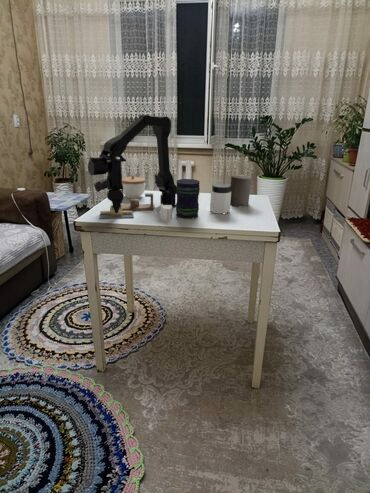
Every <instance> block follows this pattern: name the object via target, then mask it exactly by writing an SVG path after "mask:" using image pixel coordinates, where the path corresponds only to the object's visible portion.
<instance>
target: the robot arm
mask: <svg viewBox="0 0 370 493" xmlns="http://www.w3.org/2000/svg"><path fill="white" fill-rule="evenodd" d="M147 126H149V127H152V132H153V134H154V136H155V137H156V146H157V160H158V162H157V163H158V173H157V174H154V179H155V180H154V181H155V182H154V184H156V188H157V189H158V191H159V192H161V194H160V196H159V197H160V205H161V204H163V205H172V208H174V207H175V208H176V201H177V194H176V187H177V184H175V180H174V179H175V178H174V176H173V174H172V172H171V167H170V152H169V136H170V135H171V132H172V120H171V119H170V118H169V116H165V115H164V116H163V115H156V116H151V115H149V114H140V115H139V116H138V118H136V120H134V121H133V122H132V123H131V124H130V125H129V126H128V127H127V128H126V129H124V130H123V131H122V132H121V133H120V134H119V135H117V136H113V137H112V138H110V139H108V140H107V141H105V143H104V144H103V149H102V151H101V152H100V154H99V155H98V156H99V157H89V161H88V163H87V170H88V173H89V175H90V176H99V175H100V176H102V175H106V174H107V176H106V178H103V179H101V180H98V181H96V182H95V183H93V186H94V189H95V191H96V192H97V193H99V192H101V191H102V190H105V189H107V190H108V191H107V193H106V195H107V196H106V198H107V200H108V201H110V202H111V205H113V207H114V211H115V213H118V211H119V208H120V205H121V204H122V202H123V200H124V197H123V194H124V193H123V184H122V178H123V172H122V162H123V163H125V162H126V161H127V159H126V158H124V156H123V153H124V152H125V151H126V150H127V147H128V144H129V143H130V142H131V141H132V140H134V139H135V137H137V135H139V134H140V133H141V132H143V130H145V128H146V127H147Z"/></svg>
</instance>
